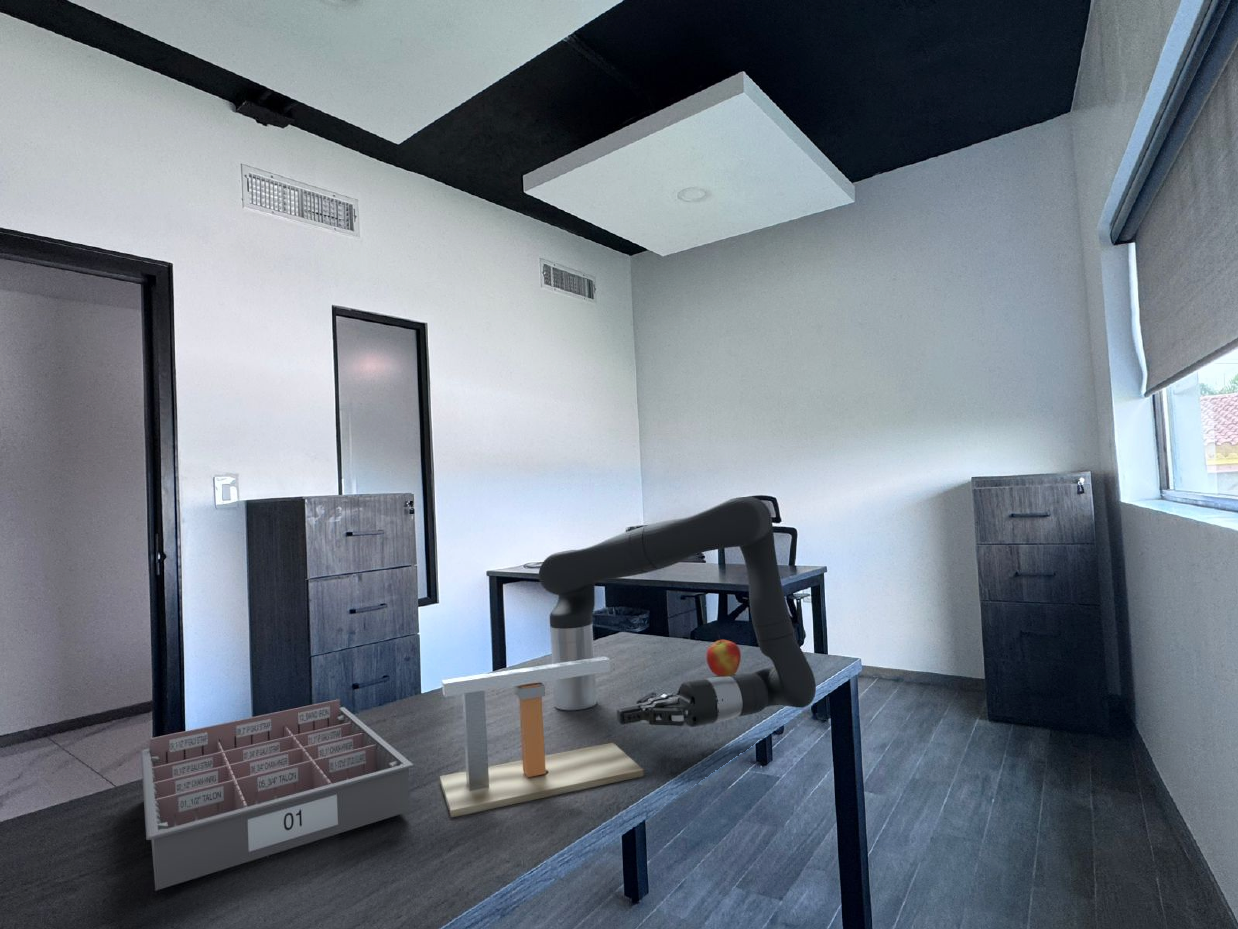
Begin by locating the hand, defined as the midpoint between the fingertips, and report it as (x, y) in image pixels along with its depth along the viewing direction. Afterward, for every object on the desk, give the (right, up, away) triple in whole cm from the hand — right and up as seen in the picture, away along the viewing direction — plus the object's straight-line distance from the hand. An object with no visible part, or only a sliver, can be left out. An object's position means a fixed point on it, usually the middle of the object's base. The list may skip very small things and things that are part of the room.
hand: (618, 717), depth 118 cm
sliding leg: (-13, -7, -6) cm, 16 cm away
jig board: (-12, -8, -5) cm, 16 cm away
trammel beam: (-13, -7, -6) cm, 16 cm away
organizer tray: (-53, -11, -10) cm, 55 cm away
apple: (+25, -9, +50) cm, 57 cm away
